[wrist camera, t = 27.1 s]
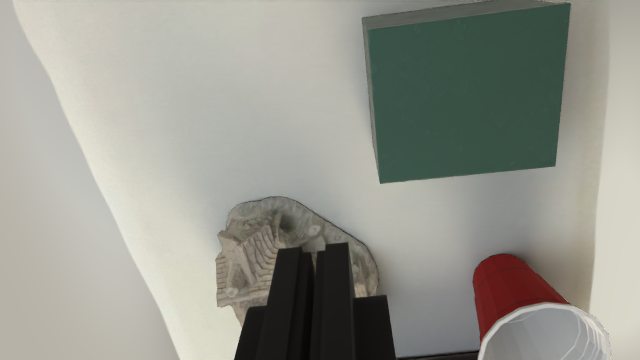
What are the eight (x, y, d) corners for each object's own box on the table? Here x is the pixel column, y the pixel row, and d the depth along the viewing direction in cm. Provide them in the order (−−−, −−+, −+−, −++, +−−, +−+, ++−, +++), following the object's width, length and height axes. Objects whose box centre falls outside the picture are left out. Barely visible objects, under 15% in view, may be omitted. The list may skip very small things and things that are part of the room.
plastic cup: (557, 226, 46) (625, 306, 35) (547, 310, 50) (604, 404, 39) (448, 234, 46) (481, 315, 36) (448, 316, 51) (477, 409, 40)
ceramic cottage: (379, 315, 51) (386, 432, 37) (239, 315, 53) (194, 426, 39) (376, 188, 45) (382, 270, 32) (219, 193, 47) (159, 272, 33)
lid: (566, 2, 30) (571, 2, 29) (551, 163, 34) (555, 166, 34) (366, 28, 31) (367, 29, 30) (379, 180, 36) (380, 184, 35)
